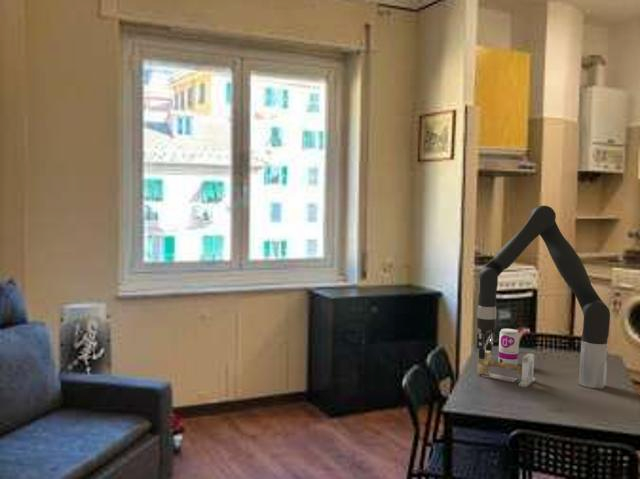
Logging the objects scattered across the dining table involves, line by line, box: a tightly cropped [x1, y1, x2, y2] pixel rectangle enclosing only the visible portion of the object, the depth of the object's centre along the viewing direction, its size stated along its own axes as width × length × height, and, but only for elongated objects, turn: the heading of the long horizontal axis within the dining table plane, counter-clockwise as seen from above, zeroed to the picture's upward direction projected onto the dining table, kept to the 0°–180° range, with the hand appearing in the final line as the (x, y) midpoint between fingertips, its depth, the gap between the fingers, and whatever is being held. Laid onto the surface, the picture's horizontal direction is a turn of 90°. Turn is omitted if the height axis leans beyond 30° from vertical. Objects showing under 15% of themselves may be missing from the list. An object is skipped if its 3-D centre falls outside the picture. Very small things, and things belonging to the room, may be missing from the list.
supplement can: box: [497, 328, 520, 365], centre depth 278 cm, size 8×8×15 cm
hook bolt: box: [476, 349, 522, 378], centre depth 256 cm, size 17×4×9 cm, turn 56°
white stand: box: [481, 352, 536, 388], centre depth 255 cm, size 19×12×11 cm, turn 56°
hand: (485, 356), depth 259 cm, fingers open, 8 cm apart
